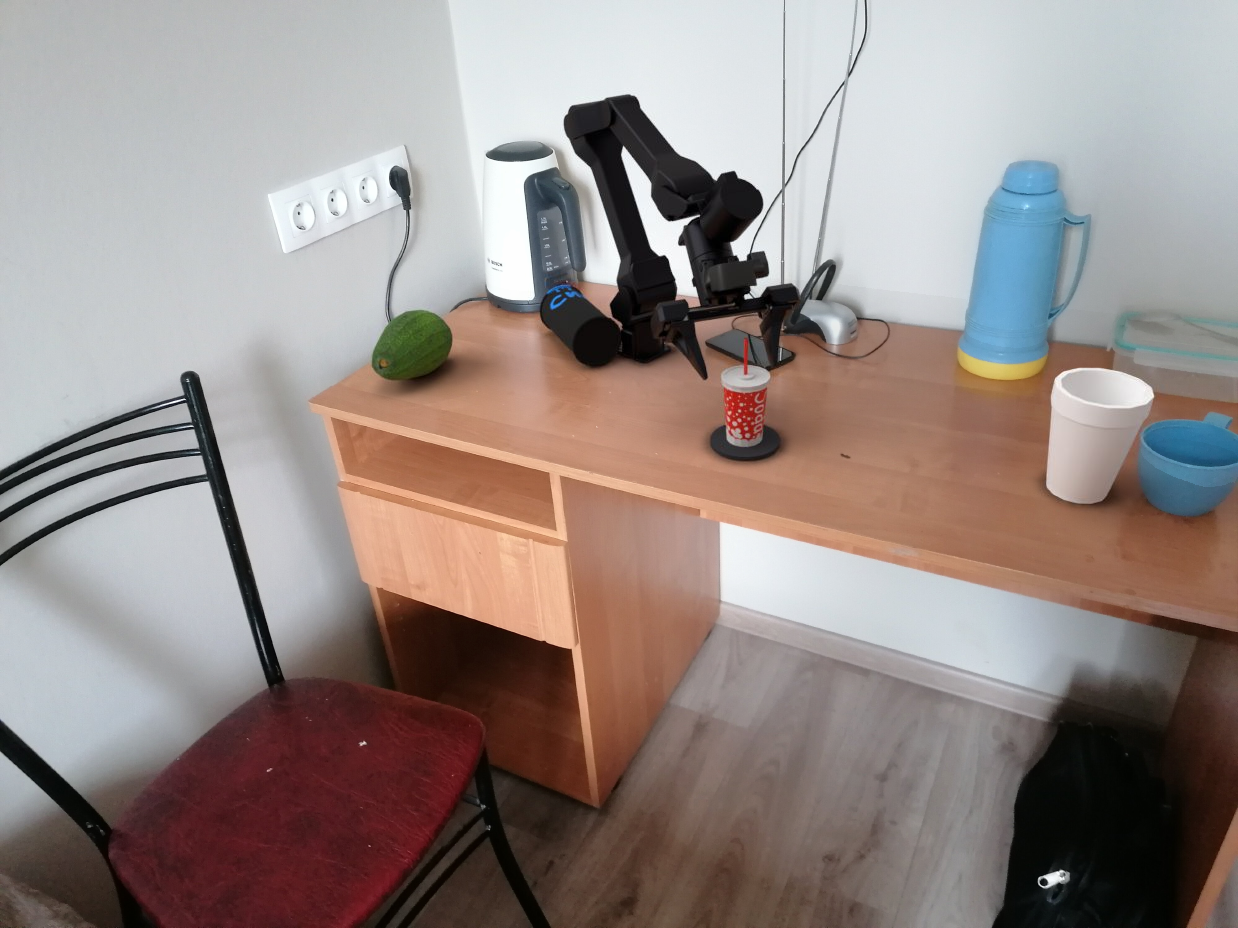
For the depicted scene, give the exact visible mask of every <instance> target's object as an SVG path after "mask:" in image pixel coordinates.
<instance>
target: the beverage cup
mask: <svg viewBox="0 0 1238 928" xmlns="http://www.w3.org/2000/svg"><path fill="white" fill-rule="evenodd" d="M743 347H744V348H743V364H739V365H734V366H731V367H728V368H726V369H724V370H723V371H722V372H721V374H720V380H721V384H720V385H722V386H723V399H724V400H723V401H724V402H723V403H724V415H725V416H724V417H725V418H724V419H725V425H726V434H727V440H728V442H729V443H731V444H733V445H735V446H740V447H749V446H754V445H756V444H758V443H760V442H761V440H762V435H763V425H765V415H766V414H765V413H766V405H767V397H768V386H769V385H770V384H771V382H770V381H771V373H770V372H769V371H768V370H767V369H766V368H763V367H761V366H757V365H752V364H749V337H744V339H743Z"/></svg>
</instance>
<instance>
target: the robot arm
mask: <svg viewBox="0 0 1238 928" xmlns="http://www.w3.org/2000/svg"><path fill="white" fill-rule="evenodd" d="M563 130H564V133H565V135H566V137H567V138H568V140H569V142H570V145H571V148H572V150H573V152H574V155H576V156H577V157H578V158H579V159H580V160H581V161H582V162H584V164H585V165H587V166H588V167H589V168H590V170H591V172H592V173H591V174H592V175H593V178H594V182H595V186H596V188H597V192H598V195H599V198H600V201H601V203H602V207H603V211H604V213H605V216H606V219H607V221H608V225H609V229H610V231H611V234H612V238H613V241H614V245H615V247H616V250H617V253H618V256H619V266H618V272H617V275H616V280H615V281H616V285H617V289H618V291H617V292H616V294H615V295H614V297H613V298H612V300H611V301H610V303H609V309H610V313H611V317H612V319H613V320H616V321H617V322H619V323H620V324H621V328H620V331H621V336H622V340H621V346H620V348H619V350H618V352H617V354H620V355H622V356H625V357H627V358H629V359H632V360H635V361H638V362H640V363H643V364H645V363H649V362H650V361H652V360H654V359H656V358H658V357H660V356H662V355H665V354H667V353H669V352H670V351H672V349H673V347H672V346H671V345H668V344H672V345H673V346H674V347H675V348H676V349H677V350H678V351H679V352H680V353H681V354H682V355H683V356H684V357H685V358H686V360H687V361H688V362H689V364H690V365H691V367H692V368H693V369H694V370H695V372H697V374H698V375H699V376H700V378H701V379H702V380H703V381H707V380H708V378H709V375H708V369H707V364H706V362H705V359H704V355H703V352H702V350H701V346H700V342H699V340H698V337H697V331H696V323H700V322H706V321H707V322H708V321H713V320H719V319H720V320H721V319H727V318H733V317H739V316H745V315H751V314H757V317H758V318H759V319H760V320H762V321H761V322H760V324H759V325H758V326H759V331H760V335H761V338H762V342H763V345H764V346H763V347H764V349H765V353H766V357H767V360H768V363H769V365H770V368H771V369H776V368H777V367H778V364H779V362H778V361H779V352H780V338H781V337H780V336H781V331H782V326H783V323H784V322H785V320H786V319H787V318H790V317H791V315H792V314H793V313H794V311H795V310H796V309H797V308H798V306H799V305H800V304H801V302H802V301H803V300H802V297H801V294H800V290H799V288H798V287H797V286H796V285H794V284H793V282H788V283H783V284H782V283H781V284H776V285H775V284H774V285H768V286H766V287H765V288H764V290H763V292H762V293H761V295H760V296H758V297H750V298H746V297H745V296H746V295H747V296H748V295H749V294H750V292H751V291H752V289H751V287H757V286H758V282H757V280H759V279H764V278H768V277H769V275H770V266H769V261H768V257H767V255H766V252H765V250H761V251H752V252H751V253H748V254H747V255H746V259H744V260H740V258H739V257H738V255H737V254H734V252H733V248H732V243H733V242H735V241H737V240H738V239H740V237H741V236H742V235H743V234H744V232H745V231H746V230H747V229H748V228H749V227H750V226H751V225H752V224H753V223H754V222H755V220H757V218H758V217H759V216H760V215H761V213H762V212H763V210H764V199H763V195H762V193H761V190H759V189H758V188H757V187H756V186H755V185H754V184H753V183H751V182H750V181H748V180H746V179H742V178H739V176H738V174H737V172H736V171H735V170H730V171H726V172H721V173H720V174H719V176H718V177H717V179H715V178H714V177H713V176H712V174H711V173H710V172H709V171H708V170H707V169H706V168H705V167H703V165H701V164H700V163H698V162H697V161H696V160H693V159H691V158H688V157H685V156H682V155H680V153H678V152H677V151H676V150H675V148H673V146H672V145H671V144H670V142H668V140H667V138H666V137H665V136H664V135H663V134H662V132H660V130H659V129H658V128H657V126H656V125H655V124H654V123H653V122H652V120H651V119H650V118H649V117H648V116H647V114H646V113H645V111H644V110H643V109H642V108H641V104H640V100H639V99H638V97H637V96H635V95H632V94H629V93H626V94H621V95H614V96H608V97H605V98H604V99H602V100H595V101H589V102H583V103H577V104H572V105H571V106H570V107H569V108H568V110H567V113H566V114H565V115H564V117H563ZM623 149H625V150H626V151H627V153H628V154H629V155H630V156H631V158H632V159H633V160H634V162H635V163H636V164H637V166H638V167H639V168H640V170H641V171H642V172H643V173H644V174H645V176H646V177H647V179H648V181H649V183H650V198H651V199H652V202H653V203H654V205H655V207H656V209H657V211H658V212H659V213H660V215H661V217H663V218H664V220H665V221H667V222H668V223H669V222H677V221H680V220H681V221H682V220H685V219H690V218H692V219H690V220H689V222H688V223H687V224H684V225H683V226H682V227H683V229H682V231H681V233H680V235H679V236H678V240H677V245H678V247H685V250H686V253H687V258H688V261H689V265H690V270H691V273H692V278H691V283H692V287H693V288H695V290H696V293H697V298H698V302H699V306H698V305H697V306H692V307H691V306H689V305H690V304H689V301H687V300H686V298H682V299H681V298H680V299H677V294H678V285H677V283H676V280H677V279H676V277H675V275H674V273H673V271H672V268H671V263H670V260H669V258H668V257H667V256H666V254H661V255H659V254H658V253H657V252H656V251H654V250H653V248H652V247H651V244H650V241H649V238H648V235H647V232H646V229H645V225H644V222H643V219H642V216H641V214H640V209H639V207H638V204H637V200H636V198H635V194H634V191H633V188H632V185H631V181H630V178H629V176H628V172H627V169H626V165H625V162H624V160H623V155H622V154H623ZM693 217H694V218H693Z"/></svg>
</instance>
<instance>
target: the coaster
mask: <svg viewBox="0 0 1238 928" xmlns="http://www.w3.org/2000/svg"><path fill="white" fill-rule="evenodd" d="M709 440H710V441H709V444H710V447H711V449H712V450H713V451H714V452H715V453H716V454H718V456H720V457H723V458H726V459H730V460H733V461H740V462H748V461H749V462H750V461H758V460H763V459H765V458H768V457H770V456H772V455H773V454H775V453H776V452H777V451H778V450H779V448H780V446H781V437H780V435H779V433H778V432H777V430H775V429H774V428H772V427H770V426H769V425H766V424H764V425H763V435H762V440H761V442H760V443H758V444H756V445H754V446H749V447H740V446H735V445H733V444H731V443H729V442H728V440H727V434H726V424H723V425H721V426H719V427H717V428H715V430H713V432H712V433H711V434H710V436H709Z"/></svg>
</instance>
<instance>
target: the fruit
mask: <svg viewBox="0 0 1238 928" xmlns="http://www.w3.org/2000/svg"><path fill="white" fill-rule="evenodd" d="M452 346H453V333H452V329H451V328H450V326H449V325H448V323H447V322H446V321H445V320H444V319H443V318H442V317H441V316H439V315H438V314H436V313H435V312H432V311H430V310H424V309H414V310H406V311H404V312H402V313H401V314H398V315H397V316H396V317H394V318H393V319H391V320H390V321H389V322H388V323H387V325H385V327H384V329H383V331H382V333H381V334H380V336H379V338H378V339H377V342H376V344H375V346H374V348H373V351H372V353H371V368H372V369H373V371H374V372H375V374H377V375H379V376H380V377H381V378H382V379H385V380H388V381H403V380H408V379H412V378H419V377H422V376H427V375H429V374H431V373H432V372H433V371H435V370H436V369H437V368H439V367H440V366H441V365H442V364H443V363H444V362H445V361H446V360H447V359H448V357H449V355H450V352H451V350H452Z"/></svg>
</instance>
